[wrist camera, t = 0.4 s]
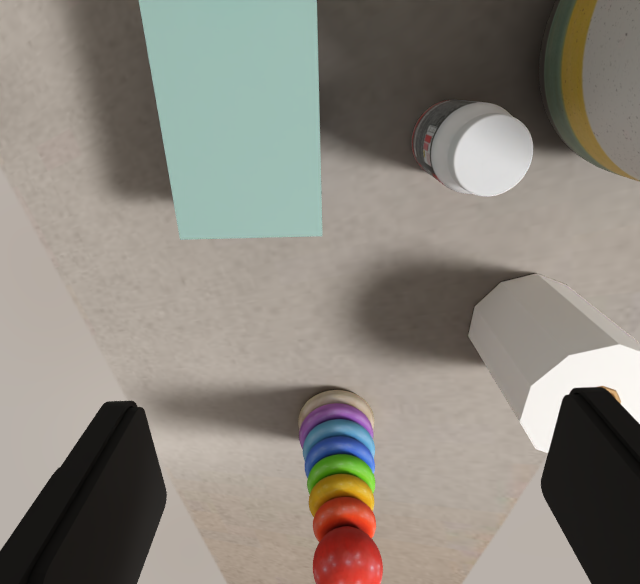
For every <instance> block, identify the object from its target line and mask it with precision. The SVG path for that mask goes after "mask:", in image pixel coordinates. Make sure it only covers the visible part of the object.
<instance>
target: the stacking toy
mask: <svg viewBox="0 0 640 584" xmlns="http://www.w3.org/2000/svg"><path fill="white" fill-rule="evenodd" d="M298 426H299V430H300V431H299V440H300V444H301V447H302V449H303V457H304V460H305V472H306V476H307V478H308V481H307V487H308V491H309V494H310V496H309V508H310V511H311V513H312V515H313V517H314V520H313V530H314V534H315V536H316V538H317V540H318V541H319V544H318V546H317V548H316V551H315V554H314V559H313V574H314V579H315V582H316V584H381V580H382V573H383V566H382V559H381V555H380V552H379V550H378V548H377V546H376V544H375V543H374V541H373V540H372V537H373V536H374V533H375V530H376V520H375V516H374V514H373V512H372V511H373V508H374V496H373V493H374V489H375V478H374V470H375V463H374V454H375V446H374V441H373V428H374V416H373V412H372V410H371V408H370V406H369V405H368V403H367V402H366V401H365V400H364V399H363V398H361V397H360V396H358V395H356V394H354V393H352V392H349V391H344V390H330V391H325V392H322V393H319V394H317V395H315V396H313V397H312V398H311V399H309V400H308V401H307V402H306V403H305V405H304V406H303V408H302V409H301V412H300V414H299V419H298Z"/></svg>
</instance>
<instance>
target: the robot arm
mask: <svg viewBox="0 0 640 584" xmlns="http://www.w3.org/2000/svg"><path fill="white" fill-rule="evenodd" d="M541 489H542V493H543V496H544V498H545V500H546V502H547V503H548V505H549V507H550V509H551V511H552V513H553V514H554V516H555V518H556V520H557V522H558V524H559V525H560V527H561V529H562V531H563V533H564V534H565V536H566V538H567V540H568V542H569V544H570V545H571V547H572V549H573V551H574V553H575V555H576V556H577V558H578V560H579V562H580V563H581V565H582V567H583V569H584V571H585V573H586V575H587V576H588V578H589V580H590V582H591V584H640V424H639V423H638V422H637V421H636V420H635V419H634V417H633V416H632V415H631V414H630V413H629V412H628V411H627V410H626V409H625V408H624V407H623V406H622V405H621V404H620V403H619V402H618V401H617V400H616V399H615V398H614V396H613V395H612V394H611V393H610V392H609V391H608V390H606V389H605V388H603V387H582V388H573V389H572V390H571V391H570V393H569V395H565V396H564V397H563V399H562V403H561V406H560V410H559V414H558V418H557V422H556V425H555V429H554V433H553V437H552V440H551V444H550V448H549V452H548V456H547V459H546V463H545V467H544V471H543V475H542V478H541ZM166 496H167V494H166V488H165V484H164V480H163V477H162V473H161V469H160V466H159V462H158V458H157V454H156V451H155V447H154V443H153V440H152V436H151V432H150V429H149V425H148V421H147V418H146V414H145V411H144V409H143V408H142V407H137V405H136V403H135V402H134V401H114V402H113V401H112V402H106V403H104V404H103V405H102V407H101V408H100V410H99V411H98V413H97V414H96V416H95V417H94V418H93V420H92V421H91V423H90V424H89V426H88V427H87V429H86V430H85V432H84V433H83V435H82V436H81V438H80V439H79V441H78V442H77V443H76V445H75V446H74V448H73V450H72V451H71V452H70V454H69V455H68V457H67V458H66V460H65V461H64V463H63V464H62V466H61V467H60V468H58V469H57V470H56V472H55V473H54V474H53V475H52V476H51V478H50V479H49V481H48V482H47V484H46V485H45V487H44V488H43V490H42V491H41V493H40V494H39V495H38V497H37V498H36V500H35V501H34V503H33V504H32V506H31V507H30V509H29V510H28V511H27V513H26V514H25V516H24V517H23V519H22V520H21V522H20V523H19V525H18V526H17V528H16V529H15V530H14V532H13V534H12V535H11V536H10V538H9V539H8V541H7V542H6V544H5V545H4V546H3V548H2V549H1V551H0V584H137V582H138V579H139V577H140V574H141V571H142V568H143V566H144V563H145V560H146V557H147V555H148V552H149V549H150V546H151V543H152V541H153V538H154V536H155V532H156V530H157V527H158V525H159V522H160V519H161V516H162V514H163V511H164V508H165V504H166Z"/></svg>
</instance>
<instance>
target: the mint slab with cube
mask: <svg viewBox="0 0 640 584" xmlns="http://www.w3.org/2000/svg"><path fill="white" fill-rule="evenodd" d="M139 5H140V11H141V17H142V23H143V28H144V34H145V40H146V46H147V51H148V57H149V63H150V69H151V74H152V80H153V86H154V92H155V97H156V103H157V109H158V115H159V121H160V126H161V132H162V138H163V144H164V149H165V155H166V161H167V167H168V172H169V178H170V184H171V190H172V195H173V201H174V207H175V213H176V218H177V224H178V230H179V236H180V240H183V239H224V238H264V237H305V236H322V201H321V158H320V115H319V73H318V30H317V0H139Z"/></svg>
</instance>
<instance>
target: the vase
mask: <svg viewBox="0 0 640 584" xmlns="http://www.w3.org/2000/svg"><path fill="white" fill-rule="evenodd" d="M539 85H540V92H541V97H542V102H543V105H544V108H545V111H546V113H547V116H548V118H549V120H550V122H551V124H552V126H553V128H554V129H555V131H556V132H557V134H558V135H559V136H560V138H561V139H562V140H563V141H564V142H565V144H566V145H567V146H568V147H569V148H570V149H571V150H572V151H574V152H575V153H576V154H577V155H579V156H580V157H582V158H583V159H585V160H586V161H588V162H590V163H592V164H593V165H595V166H597V167H599V168H602V169H604V170H607V171H609V172H612V173H615V174H618V175H621V176H624V177H627V178H630V179H633V180H637V181H640V0H556V2H555V4H554V6H553V9H552V11H551V13H550V16H549V19H548V22H547V25H546V28H545V32H544V35H543V40H542V44H541V50H540V59H539Z"/></svg>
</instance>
